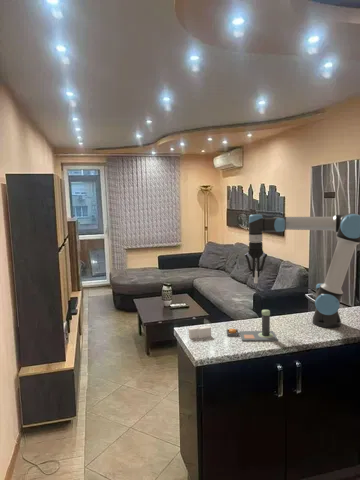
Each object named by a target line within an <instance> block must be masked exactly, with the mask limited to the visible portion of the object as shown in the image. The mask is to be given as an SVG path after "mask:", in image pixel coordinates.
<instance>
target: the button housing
mask: <svg viewBox="0 0 360 480" xmlns="http://www.w3.org/2000/svg"><path fill="white" fill-rule="evenodd" d="M229 329H230V328H229ZM229 329H228V328H227V329H226V336H227V337H239V336H240V332H239V329H237V328H235V329H236V333H229Z"/></svg>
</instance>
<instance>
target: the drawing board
mask: <svg viewBox="0 0 360 480" xmlns="http://www.w3.org/2000/svg"><path fill="white" fill-rule="evenodd" d="M239 336H240V338H241V341H242V342H278V341H279V339H278V337H277V335H276V334H275V332H274V330H270V336H263V335H262V330H241V331H239Z"/></svg>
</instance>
